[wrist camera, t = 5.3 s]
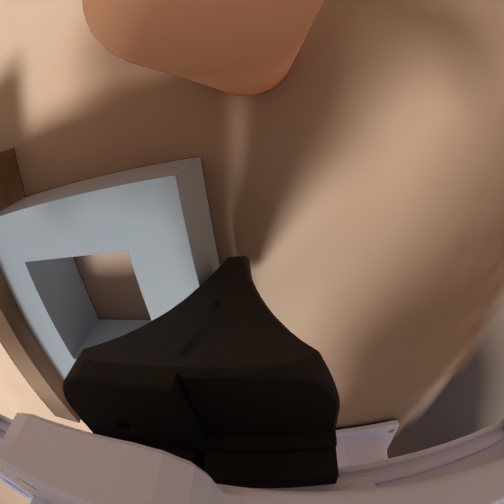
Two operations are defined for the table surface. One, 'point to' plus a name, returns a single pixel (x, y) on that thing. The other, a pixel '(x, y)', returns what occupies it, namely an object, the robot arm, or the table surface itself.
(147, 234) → the block
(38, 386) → the backstop wall
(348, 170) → the table surface
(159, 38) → the dowel
